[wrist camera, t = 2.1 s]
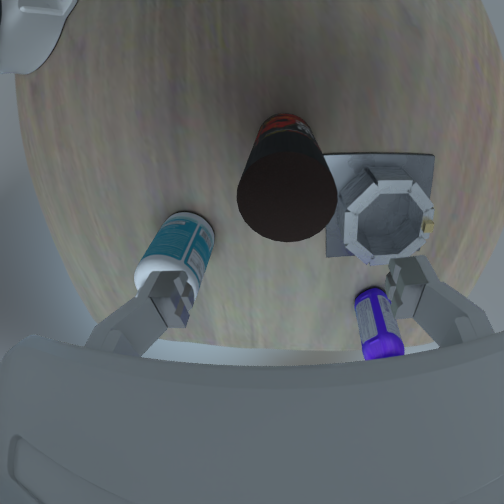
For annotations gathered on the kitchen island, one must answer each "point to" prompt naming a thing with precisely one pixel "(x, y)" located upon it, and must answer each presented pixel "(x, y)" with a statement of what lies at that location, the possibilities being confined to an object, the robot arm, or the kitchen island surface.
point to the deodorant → (286, 182)
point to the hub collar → (380, 205)
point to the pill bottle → (178, 250)
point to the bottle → (377, 326)
